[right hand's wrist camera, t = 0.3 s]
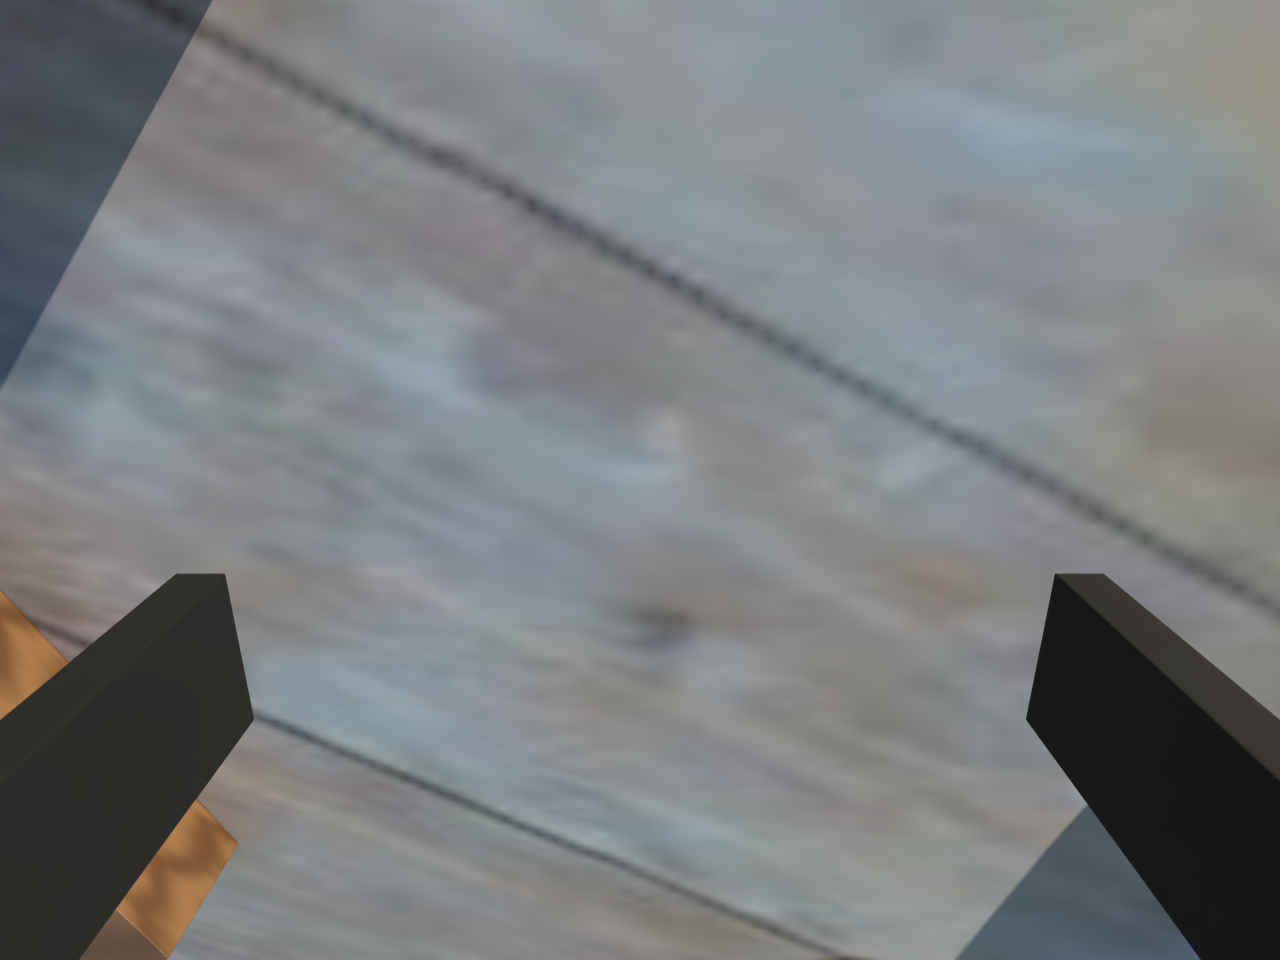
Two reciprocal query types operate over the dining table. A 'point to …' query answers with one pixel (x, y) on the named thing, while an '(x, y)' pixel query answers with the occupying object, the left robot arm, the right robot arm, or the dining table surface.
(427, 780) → the dining table surface
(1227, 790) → the right robot arm
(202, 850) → the bar
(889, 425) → the dining table surface
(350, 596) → the dining table surface
